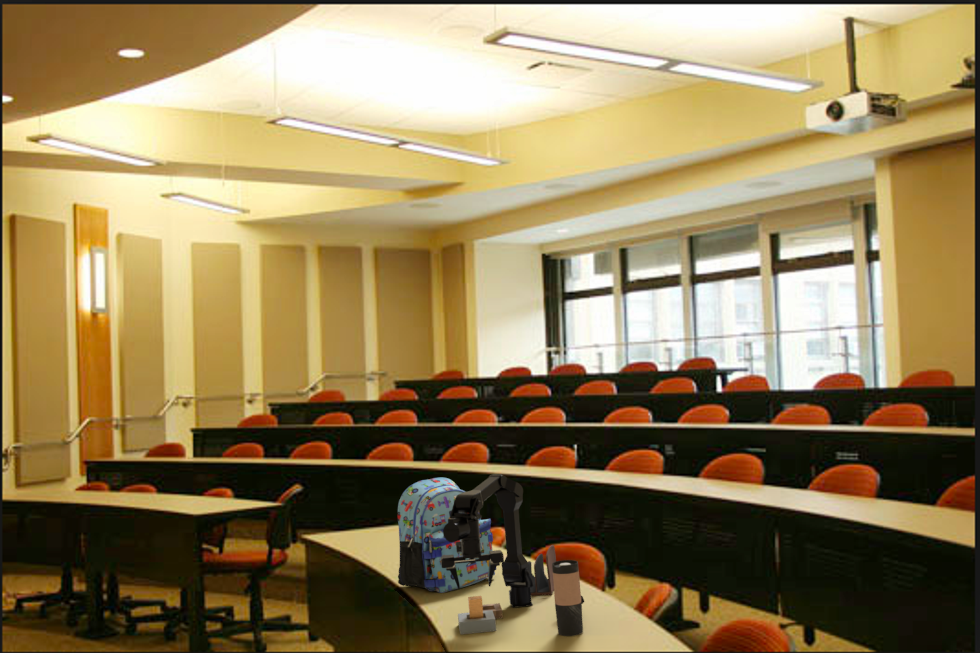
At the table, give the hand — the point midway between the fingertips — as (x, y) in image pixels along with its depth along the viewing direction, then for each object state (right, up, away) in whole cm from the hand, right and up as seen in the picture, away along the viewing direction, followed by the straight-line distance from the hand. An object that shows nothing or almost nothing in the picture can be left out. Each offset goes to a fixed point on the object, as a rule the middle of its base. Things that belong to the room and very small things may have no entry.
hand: (474, 587), depth 304 cm
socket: (+1, -12, -1) cm, 12 cm away
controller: (+30, -10, 0) cm, 31 cm away
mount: (+4, -12, +12) cm, 17 cm away
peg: (+1, -12, -1) cm, 12 cm away
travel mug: (+28, -10, -14) cm, 33 cm away
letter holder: (+22, -12, +44) cm, 50 cm away
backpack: (-10, -15, +64) cm, 67 cm away
